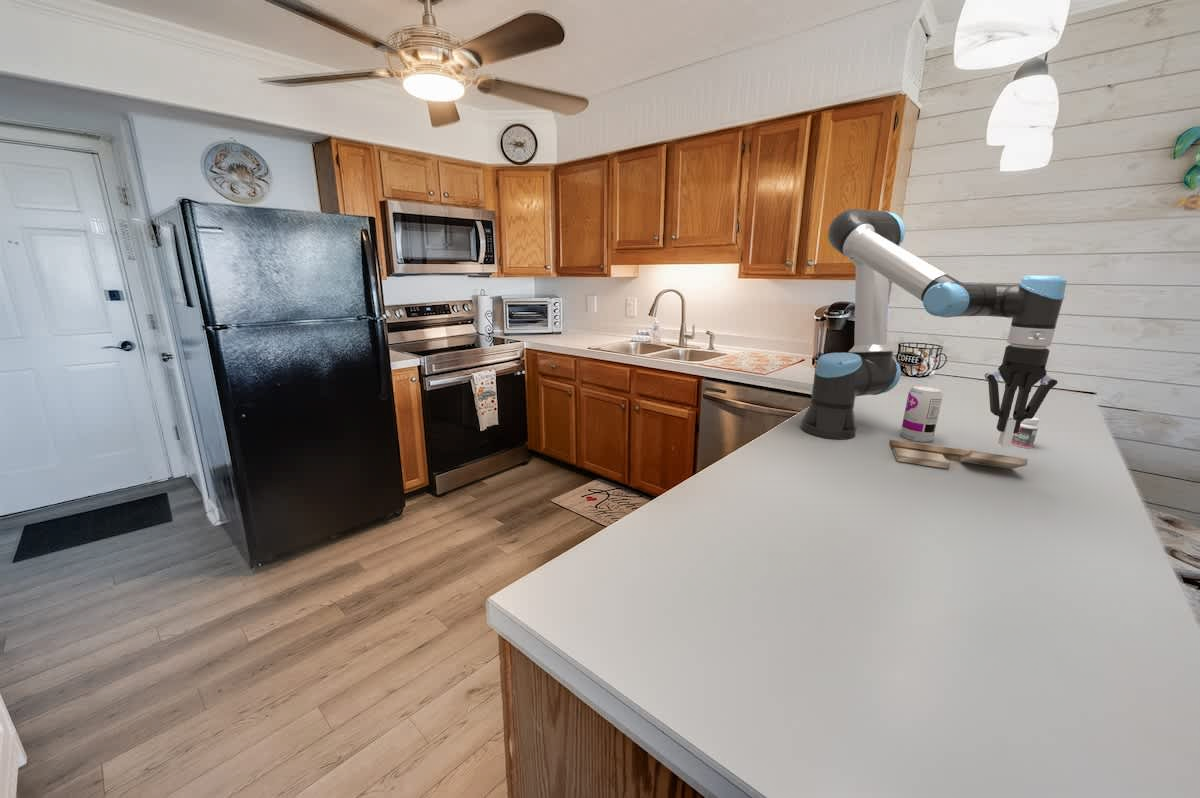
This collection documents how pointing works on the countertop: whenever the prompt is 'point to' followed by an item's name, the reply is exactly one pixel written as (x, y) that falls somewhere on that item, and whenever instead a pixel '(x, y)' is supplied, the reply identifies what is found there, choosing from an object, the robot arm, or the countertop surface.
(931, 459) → the plank
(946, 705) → the countertop surface
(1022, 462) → the plank
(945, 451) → the laid board
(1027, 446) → the pill bottle
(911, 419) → the supplement can
